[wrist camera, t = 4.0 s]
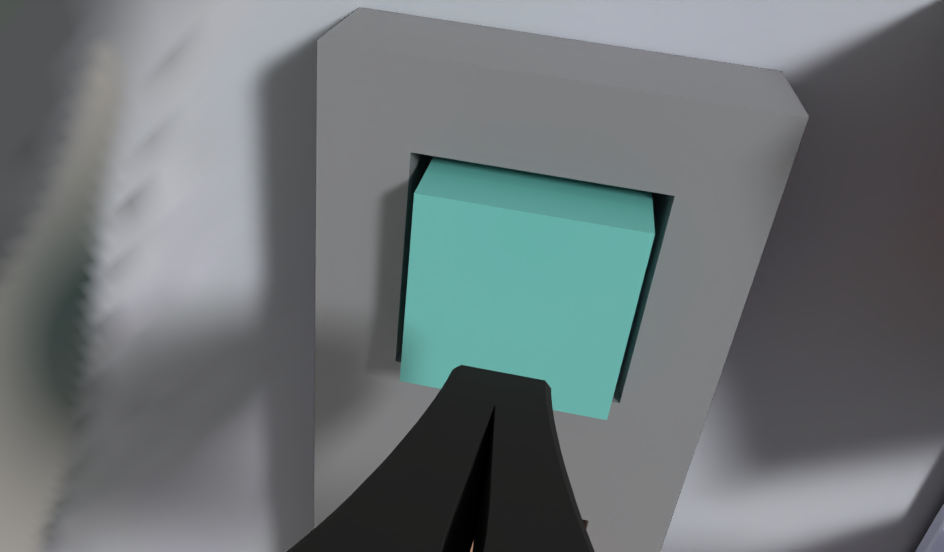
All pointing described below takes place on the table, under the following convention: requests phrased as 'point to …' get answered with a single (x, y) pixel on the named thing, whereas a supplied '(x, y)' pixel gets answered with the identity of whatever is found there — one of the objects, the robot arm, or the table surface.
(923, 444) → the table surface
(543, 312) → the teal button
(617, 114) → the button panel
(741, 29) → the table surface
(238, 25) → the table surface
